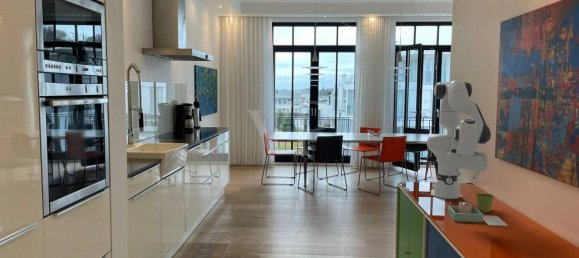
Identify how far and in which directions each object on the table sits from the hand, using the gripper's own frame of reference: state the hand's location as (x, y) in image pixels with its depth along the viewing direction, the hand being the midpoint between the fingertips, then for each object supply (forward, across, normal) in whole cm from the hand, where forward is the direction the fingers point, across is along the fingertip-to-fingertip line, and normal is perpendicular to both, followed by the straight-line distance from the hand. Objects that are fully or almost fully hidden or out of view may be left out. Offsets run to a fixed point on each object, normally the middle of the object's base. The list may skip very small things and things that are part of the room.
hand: (466, 177), depth 218 cm
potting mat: (+21, -11, -7) cm, 25 cm away
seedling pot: (+21, 0, 0) cm, 21 cm away
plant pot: (+22, +1, -21) cm, 30 cm away
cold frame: (+21, 0, 0) cm, 21 cm away
